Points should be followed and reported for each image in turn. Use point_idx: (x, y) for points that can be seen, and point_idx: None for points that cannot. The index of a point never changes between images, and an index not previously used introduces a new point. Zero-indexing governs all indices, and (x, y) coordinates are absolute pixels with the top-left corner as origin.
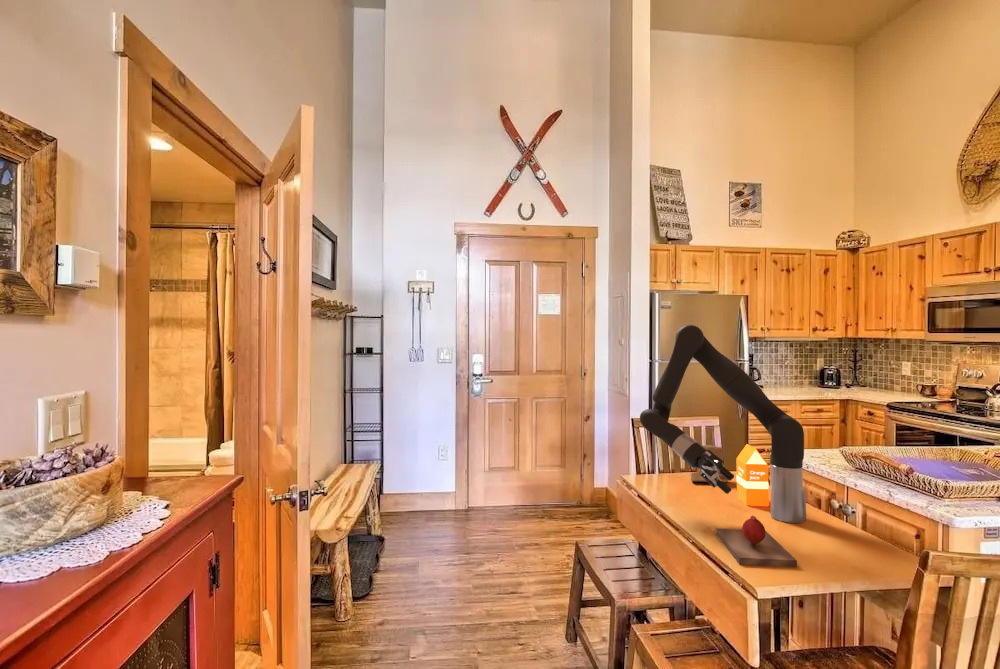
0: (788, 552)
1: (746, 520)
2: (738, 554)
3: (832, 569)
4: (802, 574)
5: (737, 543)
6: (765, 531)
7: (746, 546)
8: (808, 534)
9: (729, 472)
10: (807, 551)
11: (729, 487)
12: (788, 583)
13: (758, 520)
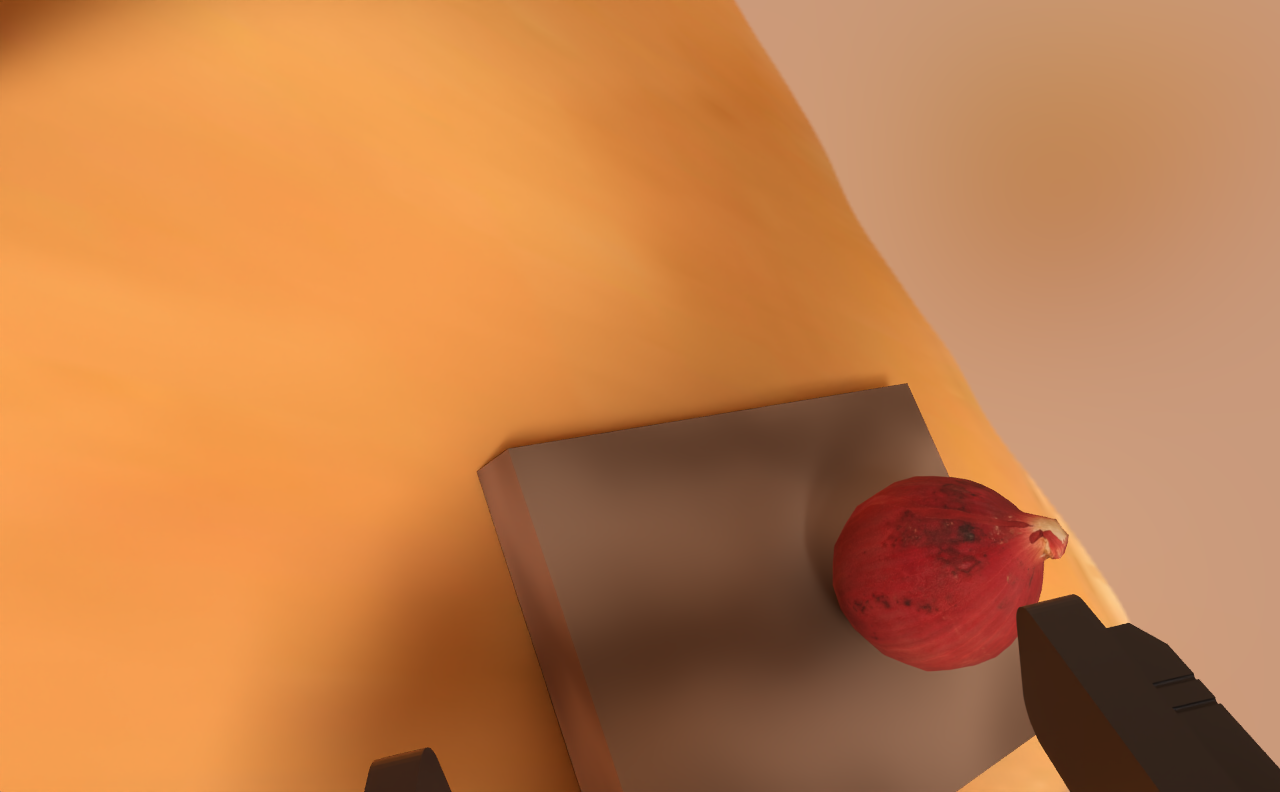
0: (838, 395)
1: (1019, 606)
2: (1028, 723)
3: (797, 230)
4: (924, 401)
5: (892, 731)
6: (532, 454)
7: (901, 662)
8: (241, 72)
9: (1189, 683)
10: (628, 251)
11: (423, 788)
12: (1031, 494)
13: (1006, 501)
